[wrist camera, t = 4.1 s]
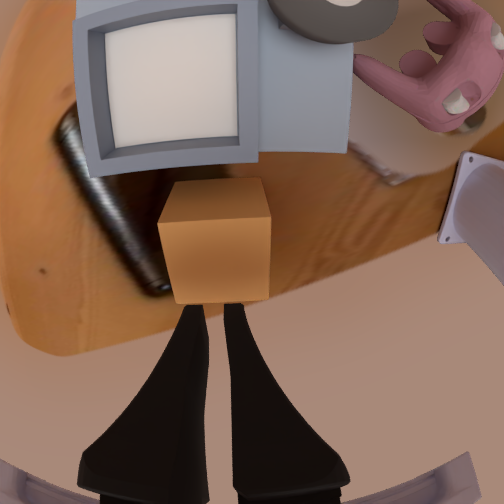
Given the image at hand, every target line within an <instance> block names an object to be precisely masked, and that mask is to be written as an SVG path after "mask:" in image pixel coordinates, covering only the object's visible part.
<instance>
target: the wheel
mask: <svg viewBox="0 0 504 504" xmlns="http://www.w3.org/2000/svg"><path fill="white" fill-rule="evenodd" d="M267 1H268V4H269V6H270V8H271V9H272V11H273V13H274V14H275V15H276V16H277V18H278V19H279V20H280V21H281V22H282V23H283V24H284V25H286V26H287V27H288V28H289V29H291V30H292V31H294V32H295V33H297V34H299V35H301V36H302V37H305V38H307V39H310V40H312V41H316V42H319V43H324V44H334V45H335V44H347V43H353V42H358V41H365V40H368V39H372V38H375V37H377V36H379V35H380V34H382V33H384V32H385V31H386V30H387V29H388V28H389V27H390V26H391V25H392V23H393V21H394V20H395V18H396V15H397V10H398V0H267Z"/></svg>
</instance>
